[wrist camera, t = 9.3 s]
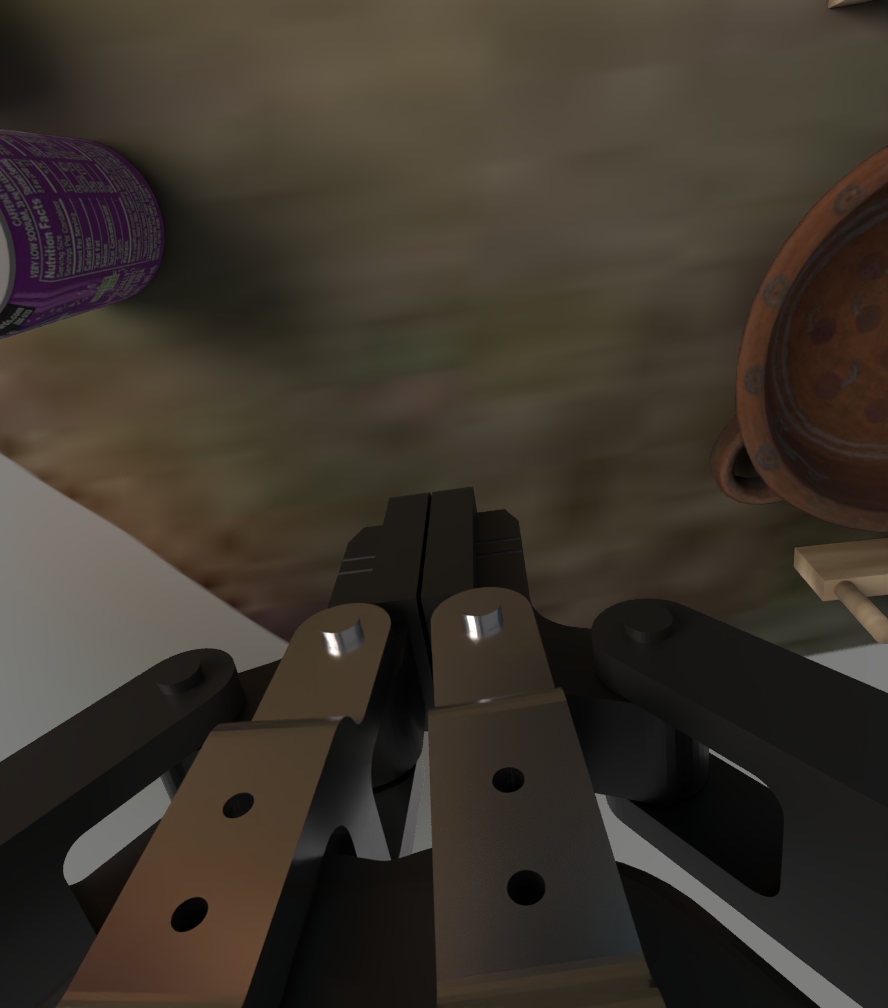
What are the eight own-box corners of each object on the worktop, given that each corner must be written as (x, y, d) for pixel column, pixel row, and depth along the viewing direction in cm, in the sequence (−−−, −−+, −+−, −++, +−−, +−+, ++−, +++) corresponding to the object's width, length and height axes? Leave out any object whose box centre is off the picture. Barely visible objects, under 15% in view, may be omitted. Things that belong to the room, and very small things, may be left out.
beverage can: (-3, 240, 34) (-230, 265, 23) (56, 103, 31) (-167, 58, 20) (130, 330, 35) (-23, 394, 24) (197, 206, 33) (59, 216, 22)
